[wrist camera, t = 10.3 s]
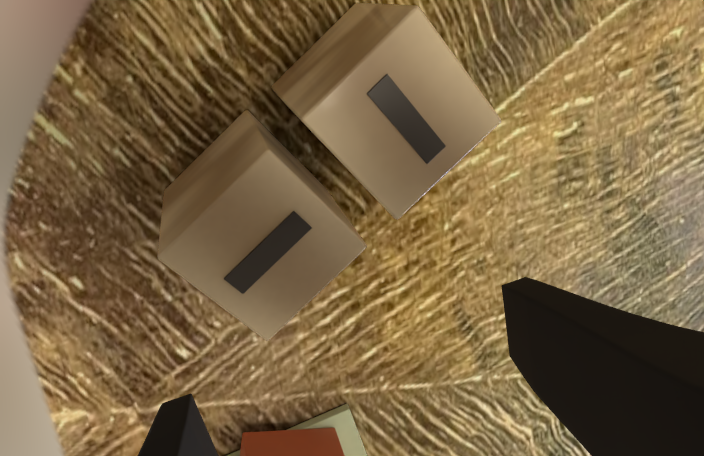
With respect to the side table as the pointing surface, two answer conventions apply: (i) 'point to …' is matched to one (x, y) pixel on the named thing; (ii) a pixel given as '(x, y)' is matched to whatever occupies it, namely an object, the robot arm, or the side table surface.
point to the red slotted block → (292, 443)
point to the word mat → (343, 426)
